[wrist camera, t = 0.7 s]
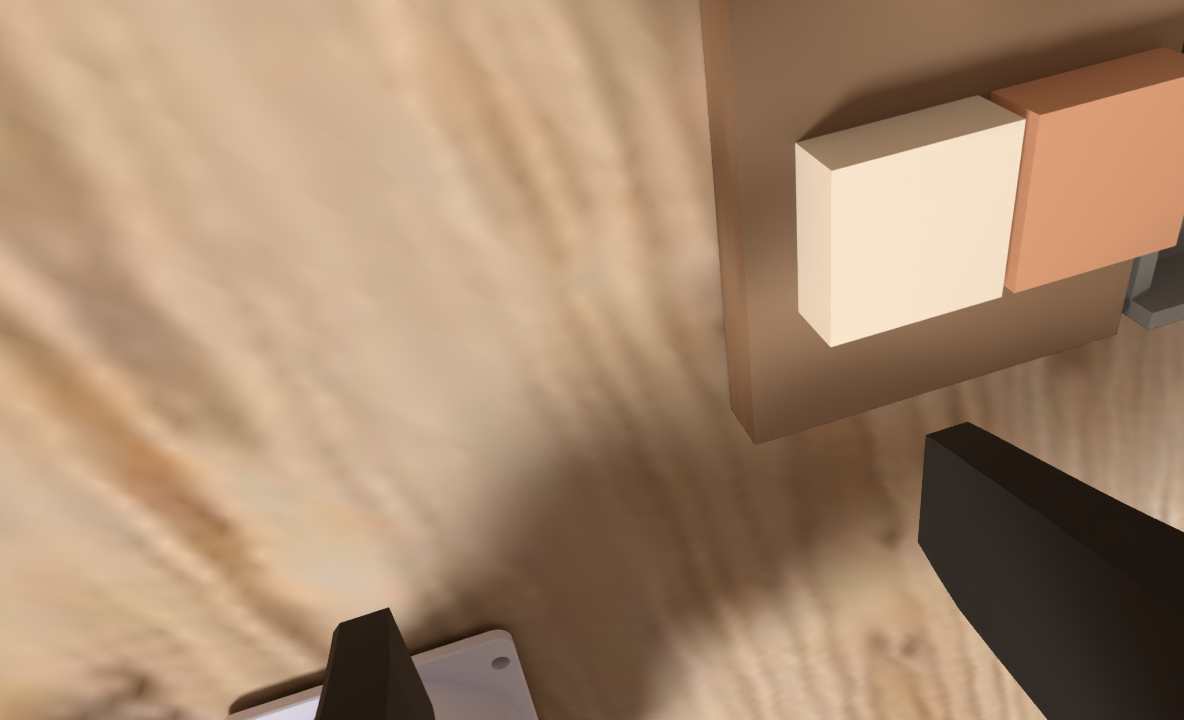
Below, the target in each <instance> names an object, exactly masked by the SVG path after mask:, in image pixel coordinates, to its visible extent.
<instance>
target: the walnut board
mask: <svg viewBox="0 0 1184 720" xmlns="http://www.w3.org/2000/svg"><path fill="white" fill-rule="evenodd" d="M700 10H701V23H702V36H703V49H704V62H705V75H706V88H707V101H708V114H709V127H710V140H711V153H712V166H713V179H714V192H715V205H716V218H717V231H718V244H719V257H720V270H721V283H722V296H723V309H724V322H725V335H726V348H727V361H728V374H729V387H730V400H731V410H732V411H733V413H734V414H735V416H736V417H737V419H738V420H739V422H740V423H741V425H742V426H743V428H744V429H745V431H746V432H747V434H748V435H749V437H750V438H751V440H752V441H753V443H754V444H755V445H757V444H760V443H763V442H767V441H770V440H773V439H776V438H780V437H783V436H786V435H790V434H793V433H796V432H799V431H803V430H806V429H809V428H812V427H816V426H819V425H822V424H825V423H829V422H832V421H835V420H839V419H842V418H845V417H848V416H852V415H855V414H858V413H861V412H865V411H868V410H871V409H874V408H878V407H881V406H884V405H887V404H891V403H894V402H897V401H901V400H904V399H907V398H910V397H914V396H917V395H920V394H923V393H927V392H930V391H933V390H936V389H940V388H943V387H946V386H949V385H953V384H956V383H959V382H963V381H966V380H969V379H972V378H976V377H979V376H982V375H985V374H989V373H992V372H995V371H998V370H1002V369H1005V368H1008V367H1012V366H1015V365H1018V364H1021V363H1025V362H1028V361H1031V360H1034V359H1038V358H1041V357H1044V356H1047V355H1051V354H1054V353H1057V352H1060V351H1064V350H1067V349H1070V348H1074V347H1077V346H1080V345H1083V344H1087V343H1090V342H1093V341H1096V340H1100V339H1103V338H1106V337H1109V336H1113V335H1116V334H1117V331H1118V326H1119V322H1120V318H1121V313H1122V309H1123V305H1124V300H1125V296H1126V291H1127V287H1128V283H1129V278H1130V274H1131V270H1132V265H1133V261H1134V258H1132V259H1129V260H1126V261H1122V262H1119V263H1115V264H1112V265H1109V266H1105V267H1102V268H1098V269H1095V270H1092V271H1088V272H1085V273H1081V274H1078V275H1075V276H1071V277H1068V278H1064V279H1061V280H1058V281H1054V282H1051V283H1047V284H1044V285H1041V286H1037V287H1034V288H1030V289H1027V290H1024V291H1020V292H1017V293H1013V292H1012V291H1011V290H1009V289H1008V288H1007V287H1005V286H1004V285H1003V292H1002V297H1000V298H997V299H993V300H990V301H986V302H983V303H980V304H976V305H973V306H969V307H966V308H963V309H959V310H956V311H952V312H949V313H946V314H942V315H939V316H935V317H932V318H929V319H925V320H922V321H918V322H915V323H912V324H908V325H905V326H901V327H898V328H895V329H891V330H888V331H885V332H881V333H878V334H874V335H871V336H868V337H864V338H861V339H857V340H854V341H851V342H847V343H844V344H840V345H837V346H834V347H830V346H829V345H828V344H827V343H826V342H825V341H824V340H823V338H822V337H821V336H820V335H819V334H818V333H817V332H816V331H815V330H814V329H813V327H812V326H811V325H810V324H809V323H808V322H807V321H806V320H805V319H804V318H803V316H802V315H801V314H800V313H799V312H798V261H797V209H796V157H795V143H796V142H800V141H804V140H808V139H812V138H815V137H819V136H823V135H827V134H831V133H835V132H838V131H842V130H846V129H850V128H854V127H858V126H862V125H865V124H869V123H873V122H877V121H881V120H885V119H888V118H892V117H896V116H900V115H904V114H908V113H911V112H915V111H919V110H923V109H927V108H931V107H934V106H938V105H942V104H946V103H950V102H954V101H957V100H961V99H965V98H969V97H973V96H977V95H979V96H981V97H983V98H985V99H987V100H989V101H990V98H991V92H992V91H996V90H1000V89H1003V88H1007V87H1011V86H1015V85H1019V84H1023V83H1026V82H1030V81H1034V80H1038V79H1042V78H1046V77H1049V76H1053V75H1057V74H1061V73H1065V72H1069V71H1072V70H1076V69H1080V68H1084V67H1088V66H1092V65H1096V64H1099V63H1103V62H1107V61H1111V60H1115V59H1119V58H1122V57H1126V56H1130V55H1134V54H1138V53H1142V52H1145V51H1149V50H1153V49H1157V48H1161V47H1165V48H1168V49H1171V50H1174V51H1177V52H1180V53H1181V51H1182V47H1183V43H1184V0H700Z"/></svg>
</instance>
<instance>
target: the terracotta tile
mask: <svg viewBox="0 0 1184 720" xmlns="http://www.w3.org/2000/svg"><path fill="white" fill-rule="evenodd" d="M990 101H991V102H993V103H995V104H997V105H999V106H1001V107H1003V108H1005V109H1007V110H1009V111H1011V112H1013V113H1015V114H1017V115H1019V116H1021V117H1023V118H1025V119H1026V122H1025V130H1024V137H1023V144H1022V152H1021V159H1020V166H1019V174H1018V181H1017V189H1016V196H1015V203H1014V211H1013V218H1012V226H1011V233H1010V240H1009V248H1008V255H1007V262H1006V270H1005V277H1004V286H1005V287H1007V288H1008V289H1009V290H1011V291H1012V292H1013V293H1017V292H1020V291H1024V290H1027V289H1030V288H1034V287H1037V286H1041V285H1044V284H1047V283H1051V282H1054V281H1058V280H1061V279H1064V278H1068V277H1071V276H1075V275H1078V274H1081V273H1085V272H1088V271H1092V270H1095V269H1098V268H1102V267H1105V266H1109V265H1112V264H1115V263H1119V262H1122V261H1126V260H1129V259H1132V258H1136V257H1139V256H1143V255H1146V254H1149V253H1153V252H1156V251H1160V250H1163V249H1166V248H1170V247H1173V246H1176V243H1177V239H1178V236H1179V232H1180V228H1181V224H1182V220H1183V216H1184V54H1183V53H1180V52H1177V51H1174V50H1171V49H1168V48H1165V47H1161V48H1157V49H1153V50H1149V51H1145V52H1142V53H1138V54H1134V55H1130V56H1126V57H1122V58H1119V59H1115V60H1111V61H1107V62H1103V63H1099V64H1096V65H1092V66H1088V67H1084V68H1080V69H1076V70H1072V71H1069V72H1065V73H1061V74H1057V75H1053V76H1049V77H1046V78H1042V79H1038V80H1034V81H1030V82H1026V83H1023V84H1019V85H1015V86H1011V87H1007V88H1003V89H1000V90H996V91H992V92H991V98H990Z"/></svg>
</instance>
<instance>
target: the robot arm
mask: <svg viewBox="0 0 1184 720" xmlns="http://www.w3.org/2000/svg"><path fill="white" fill-rule="evenodd" d="M918 543H919V545H920V547H921V548H922V550H923V552H924V553H925V555H926V557H927V558H928V560H929V562H930V563H931V565H932V567H933V568H934V570H935V572H936V573H937V575H938V577H939V578H940V580H941V582H942V583H943V585H944V586H945V588H946V589H947V591H948V593H949V594H950V596H951V597H952V599H953V600H954V602H955V604H956V605H957V607H958V608H959V609H960V611H961V612H962V613H963V615H964V616H965V617H966V619H967V620H968V621H969V622H970V624H971V625H972V626H973V627H974V629H975V630H976V631H977V633H978V634H979V635H980V636H981V638H982V639H983V640H984V641H985V643H986V644H987V645H988V646H989V648H990V649H991V650H992V651H993V653H994V654H995V655H996V656H997V658H998V659H999V660H1000V661H1001V663H1002V664H1003V665H1004V666H1005V668H1006V669H1007V670H1008V671H1009V673H1010V674H1011V675H1012V676H1013V678H1014V679H1015V680H1016V681H1017V682H1018V684H1019V685H1020V686H1021V687H1022V689H1023V690H1024V691H1025V692H1026V694H1027V695H1028V696H1029V697H1030V699H1031V700H1032V701H1033V702H1034V704H1035V705H1036V706H1037V707H1038V708H1039V710H1040V711H1041V712H1042V713H1043V715H1044V716H1045V717H1046V718H1047V720H1184V532H1182V531H1180V530H1178V529H1176V528H1174V527H1172V526H1170V525H1167V524H1165V523H1163V522H1161V521H1159V520H1157V519H1155V518H1153V517H1151V516H1149V515H1147V514H1145V513H1143V512H1140V511H1138V510H1136V509H1134V508H1132V507H1130V506H1128V505H1126V504H1124V503H1122V502H1120V501H1118V500H1116V499H1114V498H1113V497H1111V496H1109V495H1107V494H1105V493H1103V492H1101V491H1099V490H1097V489H1095V488H1093V487H1091V486H1089V485H1087V484H1085V483H1083V482H1081V481H1079V480H1078V479H1076V478H1074V477H1072V476H1070V475H1068V474H1066V473H1064V472H1062V471H1061V470H1059V469H1057V468H1055V467H1053V466H1051V465H1049V464H1047V463H1045V462H1044V461H1042V460H1040V459H1038V458H1036V457H1034V456H1032V455H1030V454H1029V453H1027V452H1025V451H1023V450H1021V449H1019V448H1017V447H1015V446H1014V445H1012V444H1010V443H1008V442H1006V441H1004V440H1002V439H1000V438H999V437H997V436H995V435H993V434H991V433H989V432H987V431H985V430H983V429H981V428H979V427H977V426H975V425H973V424H971V423H969V422H965V423H962V424H959V425H956V426H953V427H949V428H946V429H943V430H940V431H937V432H934V433H931V434H928V435H926V440H925V453H924V466H923V480H922V493H921V507H920V520H919V533H918ZM498 657H500V658H498ZM225 720H538V717H537V714H536V711H535V708H534V704H533V701H532V698H531V695H530V692H529V689H528V686H527V683H526V679H525V676H524V673H523V670H522V667H521V664H520V661H519V657H518V654H517V651H516V648H515V645H514V642H513V639H512V636H511V635H510V633H509V632H507V631H505V630H491V631H488V632H485V633H482V634H479V635H476V636H472V637H469V638H466V639H463V640H460V641H457V642H454V643H451V644H448V645H445V646H441V647H438V648H435V649H432V650H429V651H426V652H423V653H420V654H417V655H413V656H410V653H409V651H408V649H407V647H406V644H405V642H404V640H403V638H402V635H401V633H400V631H399V629H398V626H397V624H396V622H395V620H394V617H393V615H392V613H391V611H390V608H385V609H382V610H379V611H376V612H373V613H370V614H367V615H364V616H361V617H357V618H354V619H351V620H348V621H345V622H342V623H340V624H339V625H338V626H337V628H336V629H335V631H334V632H333V637H332V643H331V649H330V654H329V659H328V664H327V669H326V673H325V678H324V682H323V685H320V686H317V687H314V688H311V689H308V690H305V691H302V692H299V693H295V694H292V695H289V696H286V697H283V698H280V699H277V700H274V701H271V702H268V703H264V704H261V705H258V706H255V707H252V708H249V709H246V710H243V711H240V712H236V713H234V714H232V715H230V716H228V717H227V718H226V719H225Z"/></svg>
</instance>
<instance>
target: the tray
mask: <svg viewBox="0 0 1184 720" xmlns="http://www.w3.org/2000/svg"><path fill="white" fill-rule="evenodd" d="M1181 53H1183V54H1184V43H1183V47H1182V51H1181ZM1122 313H1123V314H1125V315H1126V316H1128V317H1129V318H1131V319H1132V320H1134V321H1135V322H1137V323H1138V324H1140V325H1141V326H1143V327H1144V328H1146V329H1147V330H1150V329H1153V328H1157V327H1160V326H1163V325H1166V324H1170V323H1173V322H1176V321H1179V320H1183V319H1184V216H1183V220H1182V224H1181V228H1180V232H1179V236H1178V239H1177V243H1176V246H1173V247H1170V248H1166V249H1163V250H1160V251H1156V252H1153V253H1149V254H1146V255H1143V256H1139V257H1136V258H1134V261H1133V265H1132V270H1131V274H1130V278H1129V283H1128V287H1127V291H1126V296H1125V300H1124V305H1123V309H1122Z"/></svg>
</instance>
